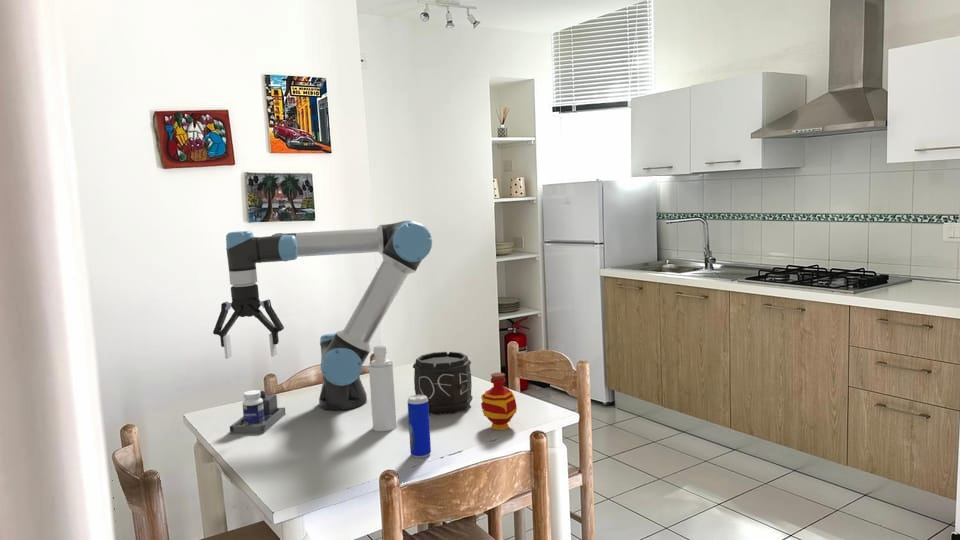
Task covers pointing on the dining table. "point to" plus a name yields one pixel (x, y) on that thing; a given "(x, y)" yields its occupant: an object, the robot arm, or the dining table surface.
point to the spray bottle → (382, 391)
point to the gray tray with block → (270, 417)
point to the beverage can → (419, 426)
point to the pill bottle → (253, 408)
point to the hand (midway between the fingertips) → (251, 356)
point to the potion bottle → (498, 403)
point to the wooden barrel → (444, 381)
